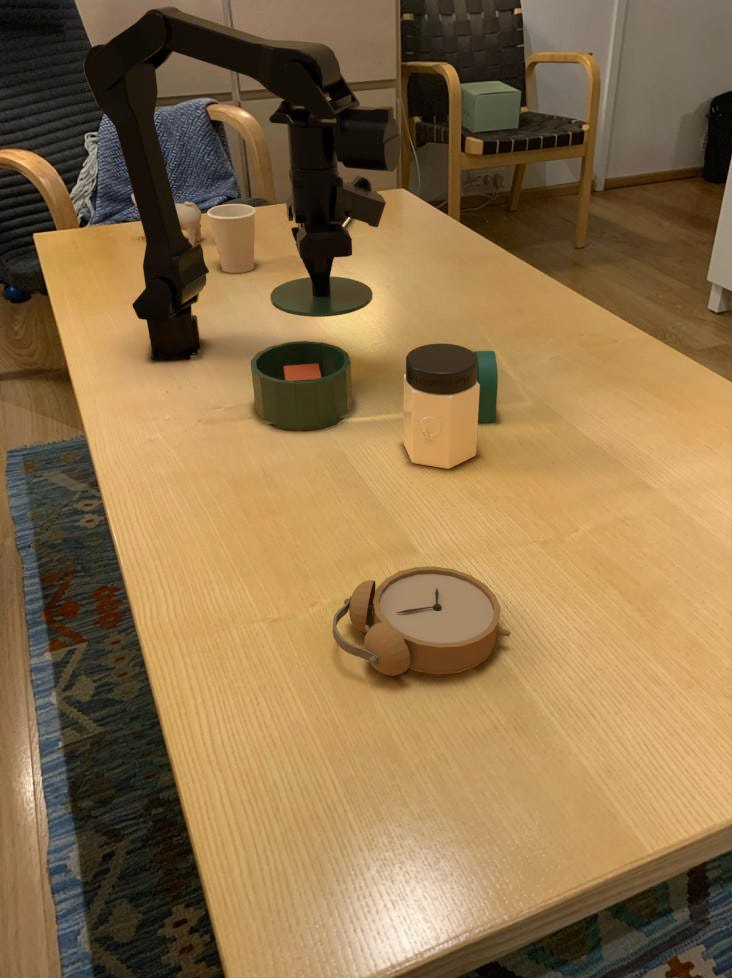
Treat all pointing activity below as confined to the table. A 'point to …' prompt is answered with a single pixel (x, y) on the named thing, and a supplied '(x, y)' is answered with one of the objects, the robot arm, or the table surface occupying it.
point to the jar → (441, 405)
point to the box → (302, 372)
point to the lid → (321, 297)
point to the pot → (302, 386)
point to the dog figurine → (188, 219)
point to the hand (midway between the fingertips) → (321, 290)
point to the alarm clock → (423, 621)
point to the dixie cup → (234, 236)
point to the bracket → (487, 385)
